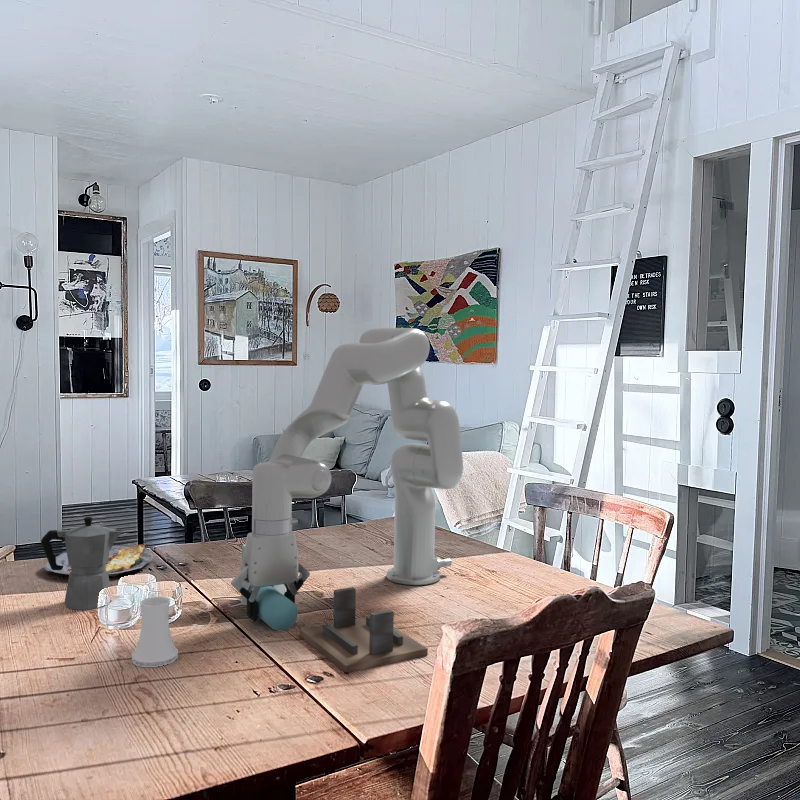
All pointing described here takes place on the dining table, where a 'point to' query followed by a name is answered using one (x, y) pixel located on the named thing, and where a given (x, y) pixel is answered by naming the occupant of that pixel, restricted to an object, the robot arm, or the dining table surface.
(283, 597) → the light blue cylinder
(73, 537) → the coffeepot
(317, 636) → the roll holder
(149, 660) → the vase
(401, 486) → the robot arm
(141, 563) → the food plate
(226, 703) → the dining table surface
